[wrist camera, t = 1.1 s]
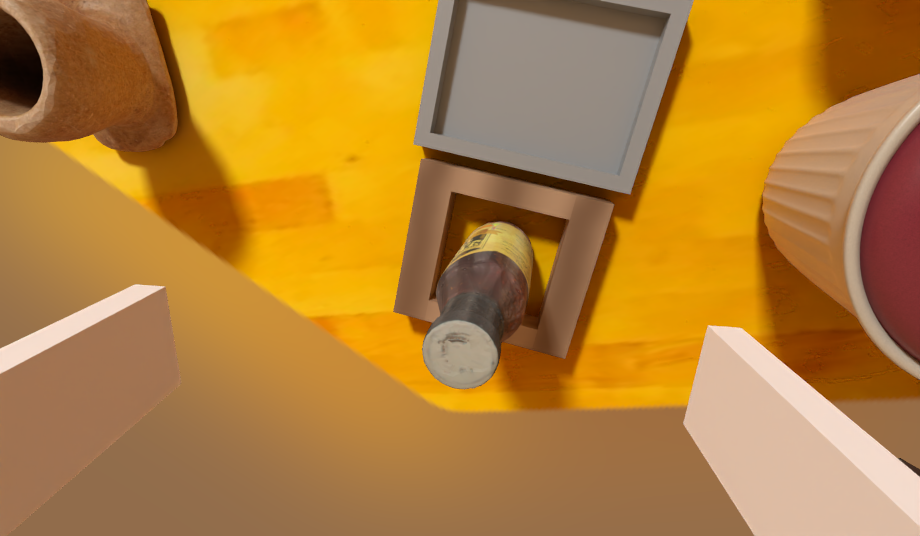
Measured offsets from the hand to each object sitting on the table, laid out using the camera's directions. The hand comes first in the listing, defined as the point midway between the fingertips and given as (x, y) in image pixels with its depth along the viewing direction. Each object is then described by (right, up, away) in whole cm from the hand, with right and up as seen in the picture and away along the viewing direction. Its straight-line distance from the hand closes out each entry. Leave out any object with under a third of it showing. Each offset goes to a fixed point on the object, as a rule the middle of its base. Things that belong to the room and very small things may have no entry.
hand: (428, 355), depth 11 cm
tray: (+7, +17, +26) cm, 32 cm away
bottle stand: (+4, +3, +30) cm, 31 cm away
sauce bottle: (+4, +3, +31) cm, 31 cm away
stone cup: (-29, +21, +32) cm, 48 cm away
